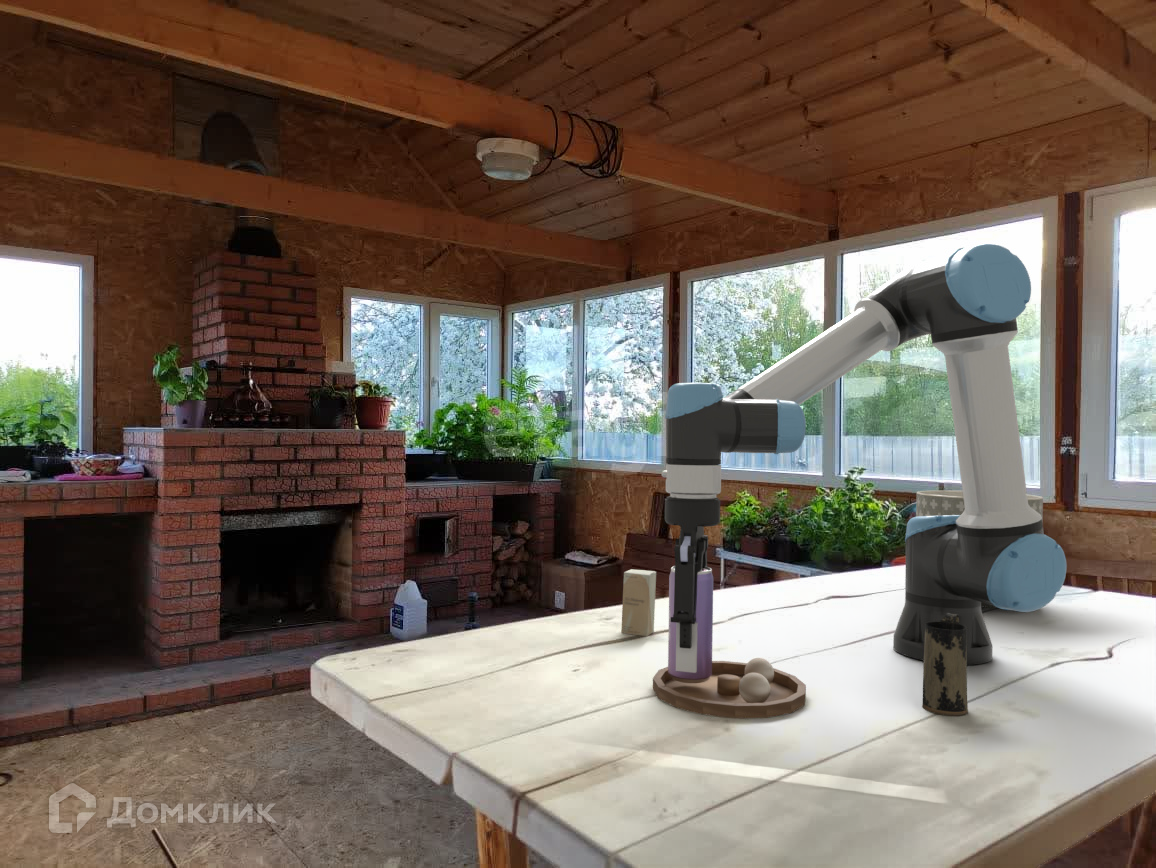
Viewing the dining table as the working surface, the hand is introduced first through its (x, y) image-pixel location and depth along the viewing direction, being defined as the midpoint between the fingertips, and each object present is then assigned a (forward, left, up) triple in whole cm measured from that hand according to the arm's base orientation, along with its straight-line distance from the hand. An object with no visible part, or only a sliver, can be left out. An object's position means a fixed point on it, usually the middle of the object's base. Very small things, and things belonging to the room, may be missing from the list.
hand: (690, 664), depth 113 cm
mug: (-33, -7, -4) cm, 34 cm away
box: (+15, -33, -5) cm, 36 cm away
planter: (-49, -87, -4) cm, 100 cm away
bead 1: (-9, -4, -3) cm, 10 cm away
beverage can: (0, 0, -2) cm, 2 cm away
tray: (-5, 0, -4) cm, 7 cm away
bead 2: (-9, +4, -3) cm, 10 cm away
